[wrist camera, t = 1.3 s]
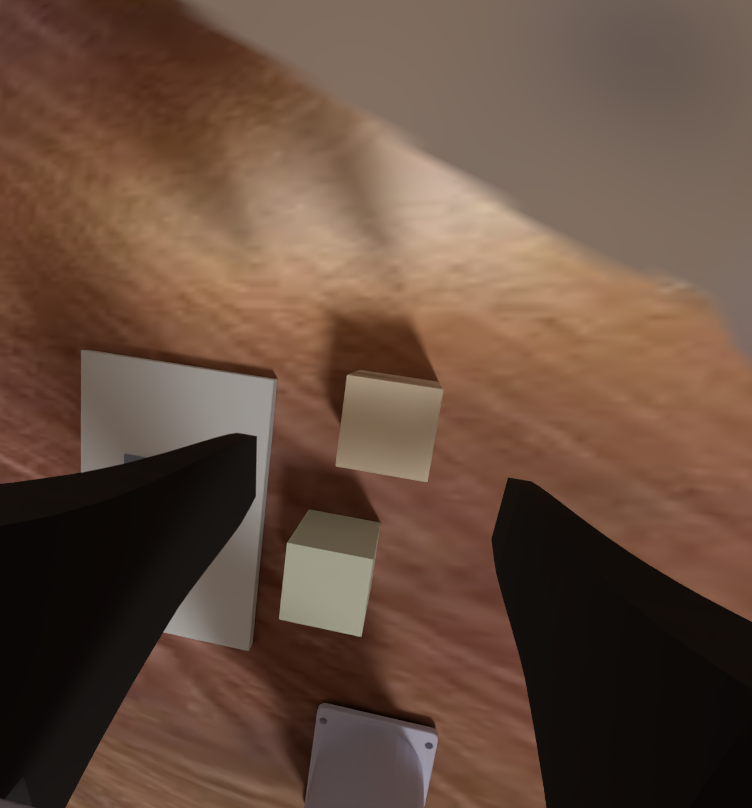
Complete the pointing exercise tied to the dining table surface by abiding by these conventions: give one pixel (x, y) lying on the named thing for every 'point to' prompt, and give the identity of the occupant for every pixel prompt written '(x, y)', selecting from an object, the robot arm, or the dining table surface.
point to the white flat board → (175, 428)
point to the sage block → (329, 572)
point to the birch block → (389, 424)
